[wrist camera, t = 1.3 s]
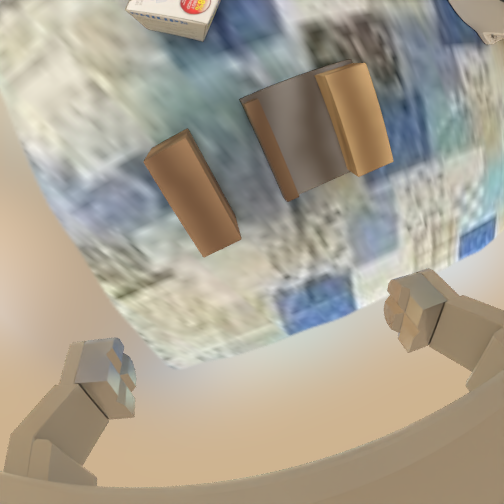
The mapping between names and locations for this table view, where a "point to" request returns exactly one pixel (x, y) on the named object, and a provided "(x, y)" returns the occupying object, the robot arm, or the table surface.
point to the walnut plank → (193, 193)
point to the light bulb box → (175, 16)
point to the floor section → (319, 126)
